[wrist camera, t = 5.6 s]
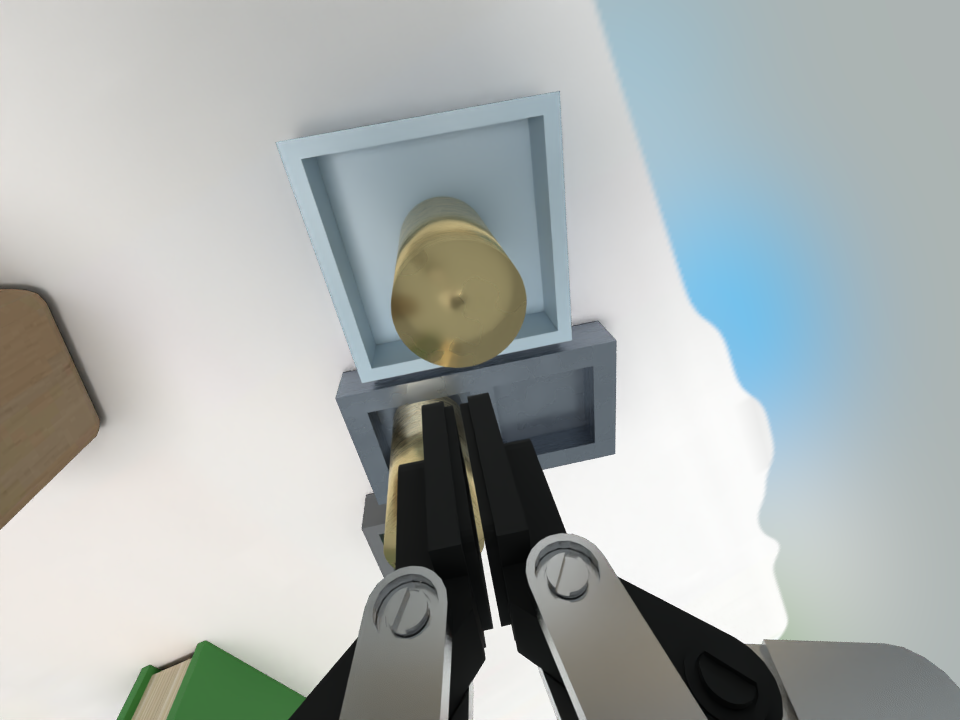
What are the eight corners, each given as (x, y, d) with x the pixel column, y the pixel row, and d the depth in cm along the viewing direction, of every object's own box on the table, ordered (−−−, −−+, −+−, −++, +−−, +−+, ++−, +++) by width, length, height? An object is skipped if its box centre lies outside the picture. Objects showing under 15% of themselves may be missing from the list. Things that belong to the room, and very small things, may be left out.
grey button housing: (366, 495, 33) (361, 528, 31) (452, 476, 34) (455, 508, 31) (389, 550, 37) (386, 584, 34) (466, 532, 37) (471, 565, 34)
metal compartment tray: (381, 474, 33) (378, 505, 30) (342, 372, 28) (335, 398, 25) (599, 428, 33) (615, 453, 31) (598, 320, 28) (616, 340, 26)
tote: (295, 139, 21) (275, 142, 18) (539, 95, 22) (559, 90, 18) (367, 354, 27) (361, 383, 24) (554, 316, 28) (572, 340, 25)
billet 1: (389, 205, 23) (373, 255, 14) (479, 188, 23) (519, 227, 14) (411, 291, 25) (409, 378, 17) (492, 275, 25) (532, 353, 17)
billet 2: (384, 401, 28) (370, 524, 19) (457, 386, 28) (475, 501, 20) (402, 456, 31) (398, 586, 22) (469, 442, 31) (490, 565, 22)
